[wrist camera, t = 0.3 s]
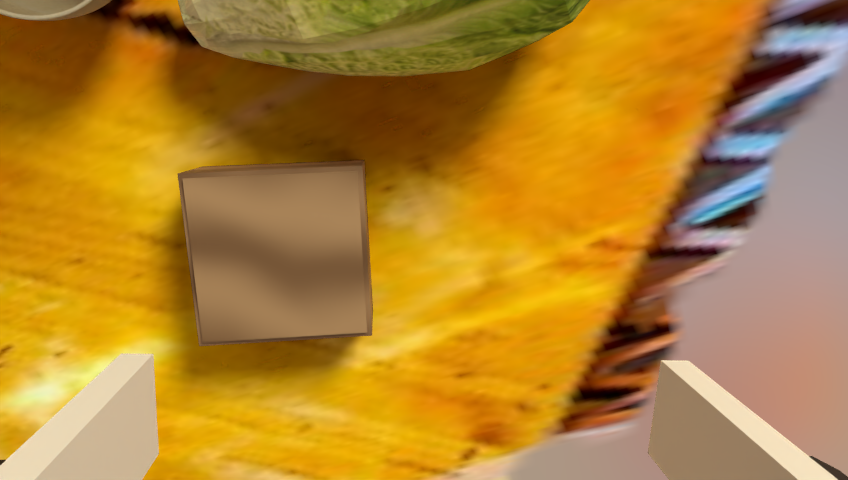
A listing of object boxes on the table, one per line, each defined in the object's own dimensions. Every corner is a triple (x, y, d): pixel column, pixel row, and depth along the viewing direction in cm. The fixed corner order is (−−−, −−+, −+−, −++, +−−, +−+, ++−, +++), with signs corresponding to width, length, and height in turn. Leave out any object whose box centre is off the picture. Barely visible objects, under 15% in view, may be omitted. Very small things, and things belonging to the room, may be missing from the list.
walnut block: (202, 166, 39) (176, 173, 34) (364, 159, 40) (362, 166, 35) (220, 319, 42) (198, 347, 37) (372, 310, 42) (371, 336, 37)
